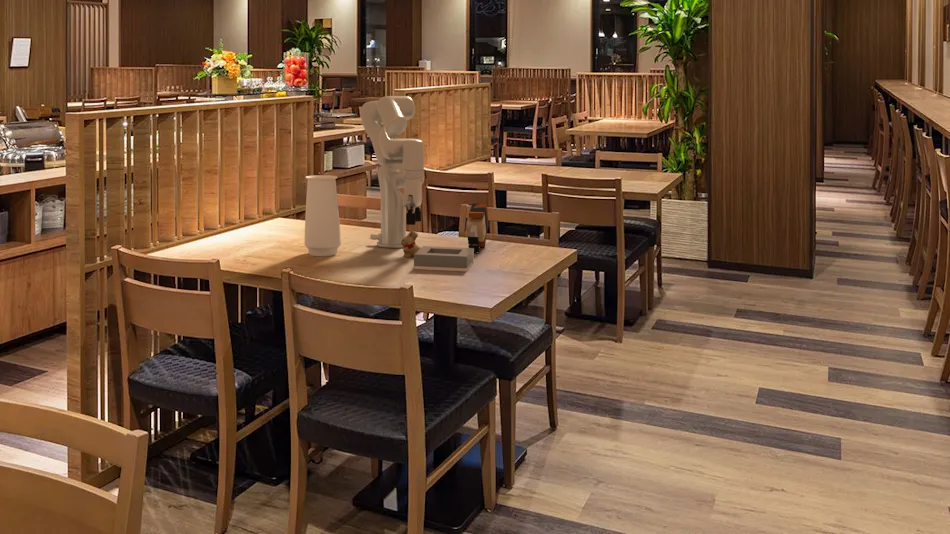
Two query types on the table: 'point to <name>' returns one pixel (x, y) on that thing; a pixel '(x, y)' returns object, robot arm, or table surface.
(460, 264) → the well
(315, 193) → the vase
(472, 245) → the toy
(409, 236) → the chocolate bunny
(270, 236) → the table surface
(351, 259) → the table surface
